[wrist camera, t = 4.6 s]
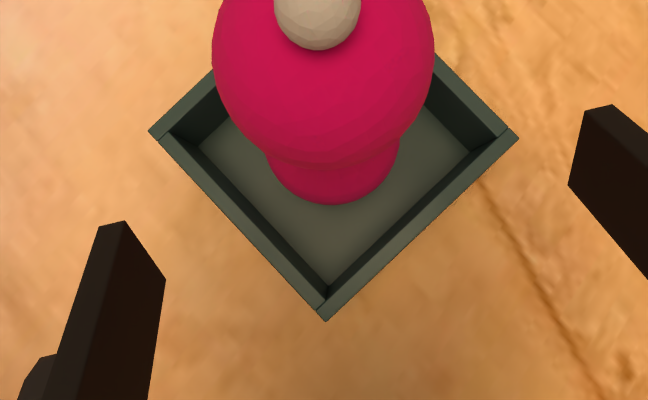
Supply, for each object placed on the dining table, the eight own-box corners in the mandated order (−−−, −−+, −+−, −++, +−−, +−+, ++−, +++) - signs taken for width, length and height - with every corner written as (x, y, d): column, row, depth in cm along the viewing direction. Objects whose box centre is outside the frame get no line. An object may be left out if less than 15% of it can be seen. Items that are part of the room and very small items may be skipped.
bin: (182, 147, 29) (146, 130, 24) (336, 2, 29) (335, -48, 24) (328, 303, 28) (325, 323, 23) (485, 153, 28) (520, 138, 23)
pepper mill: (254, 126, 29) (57, -91, 9) (356, 71, 28) (394, -275, 9) (308, 227, 28) (232, 248, 8) (411, 173, 28) (587, 58, 8)
